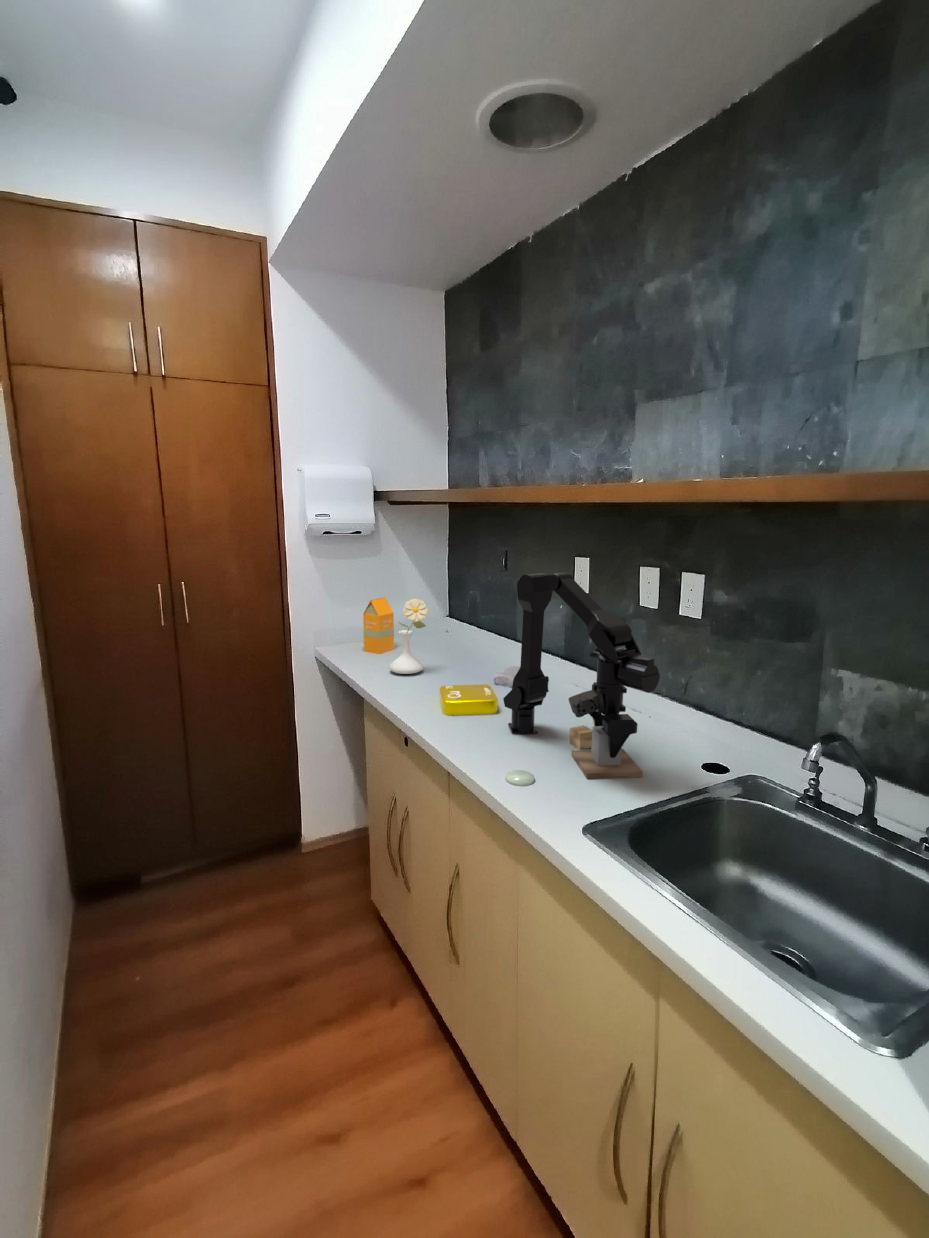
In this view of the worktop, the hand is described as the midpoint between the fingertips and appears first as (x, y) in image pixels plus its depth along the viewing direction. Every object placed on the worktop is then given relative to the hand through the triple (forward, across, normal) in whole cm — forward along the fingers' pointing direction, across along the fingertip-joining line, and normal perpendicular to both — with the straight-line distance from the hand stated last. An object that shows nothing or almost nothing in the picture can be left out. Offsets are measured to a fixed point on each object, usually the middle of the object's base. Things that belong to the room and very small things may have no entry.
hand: (606, 749), depth 136 cm
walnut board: (+4, 0, 0) cm, 4 cm away
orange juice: (+4, -109, -53) cm, 121 cm away
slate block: (+2, 0, 0) cm, 2 cm away
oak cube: (+4, -12, -2) cm, 13 cm away
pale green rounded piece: (+4, +5, -20) cm, 21 cm away
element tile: (+4, -42, -26) cm, 50 cm away
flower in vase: (+4, -78, -42) cm, 89 cm away
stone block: (+4, -63, -8) cm, 64 cm away
